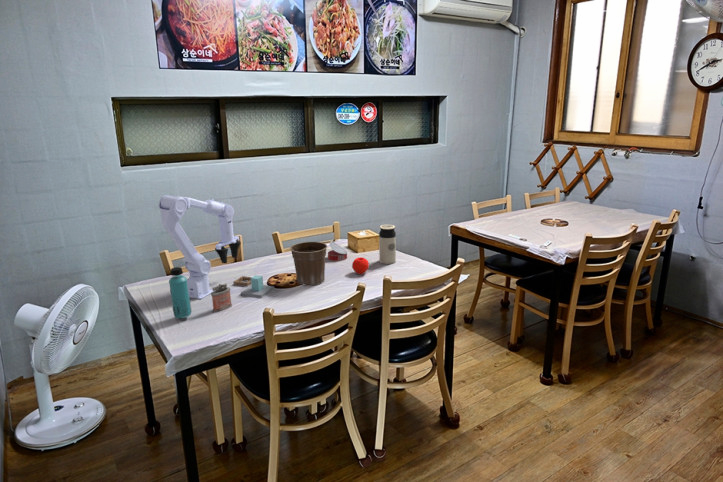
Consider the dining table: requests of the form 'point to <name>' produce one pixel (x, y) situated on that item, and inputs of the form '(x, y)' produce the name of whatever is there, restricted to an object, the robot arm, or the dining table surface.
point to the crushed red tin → (221, 298)
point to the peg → (257, 283)
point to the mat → (257, 293)
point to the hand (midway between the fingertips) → (229, 260)
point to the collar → (238, 282)
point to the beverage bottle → (179, 293)
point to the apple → (360, 265)
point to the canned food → (336, 252)
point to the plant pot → (309, 262)
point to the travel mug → (387, 244)
